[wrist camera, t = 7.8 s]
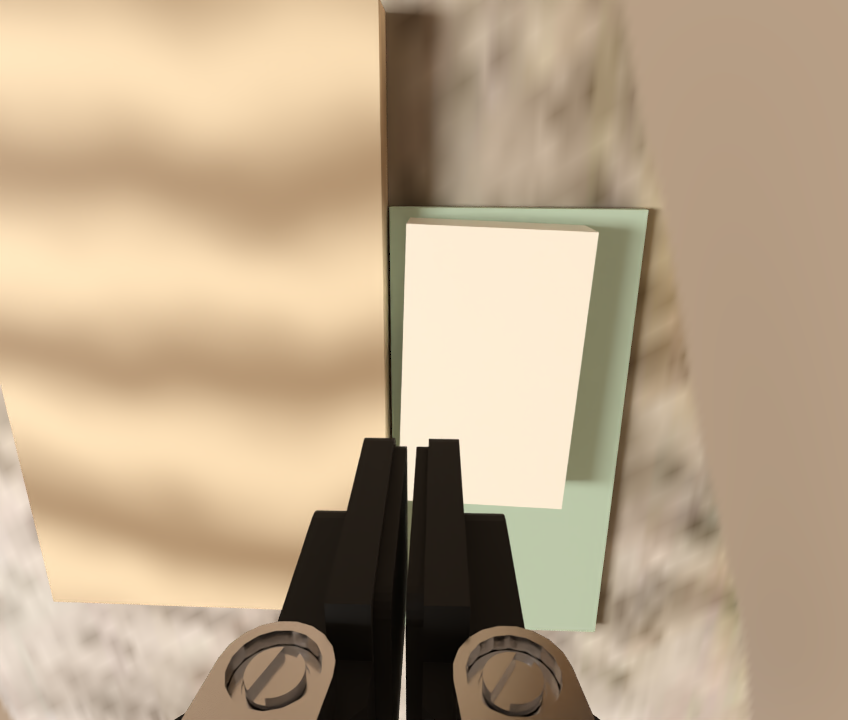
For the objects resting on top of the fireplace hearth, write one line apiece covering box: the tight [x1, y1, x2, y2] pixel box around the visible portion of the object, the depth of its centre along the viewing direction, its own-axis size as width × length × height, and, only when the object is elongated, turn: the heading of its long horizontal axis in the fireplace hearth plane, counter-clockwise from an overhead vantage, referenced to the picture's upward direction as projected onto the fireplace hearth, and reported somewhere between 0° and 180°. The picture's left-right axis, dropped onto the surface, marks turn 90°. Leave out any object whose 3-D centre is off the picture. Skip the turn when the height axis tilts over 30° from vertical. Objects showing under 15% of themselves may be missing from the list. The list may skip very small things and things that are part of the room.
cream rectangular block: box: [400, 217, 599, 509], centre depth 21 cm, size 10×6×2 cm, turn 178°
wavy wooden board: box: [0, 0, 391, 609], centre depth 22 cm, size 22×14×2 cm, turn 0°
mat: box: [389, 206, 648, 632], centre depth 23 cm, size 18×9×1 cm, turn 0°
